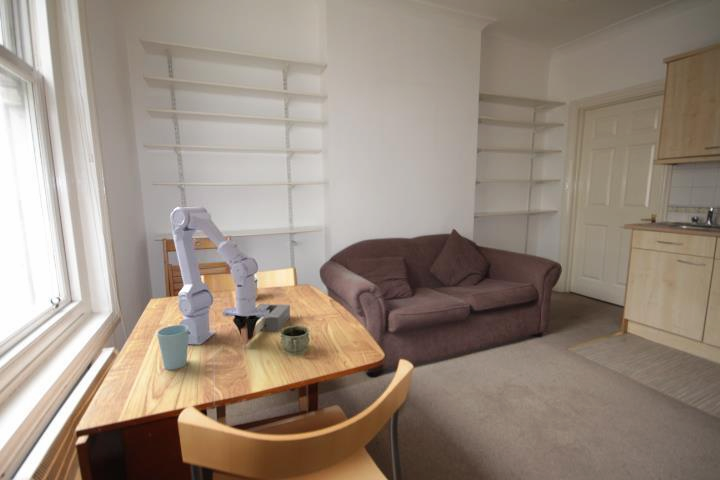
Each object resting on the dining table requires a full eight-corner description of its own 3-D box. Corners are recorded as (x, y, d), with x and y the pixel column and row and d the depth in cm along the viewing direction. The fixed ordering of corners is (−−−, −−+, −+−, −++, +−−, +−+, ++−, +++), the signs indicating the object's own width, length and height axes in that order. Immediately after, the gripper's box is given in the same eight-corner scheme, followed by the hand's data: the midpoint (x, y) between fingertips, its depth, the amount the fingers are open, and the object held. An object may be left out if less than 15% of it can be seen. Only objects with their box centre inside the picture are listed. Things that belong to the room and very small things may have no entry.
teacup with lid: (237, 296, 158) (236, 272, 156) (257, 294, 161) (256, 271, 159) (237, 304, 146) (236, 278, 145) (259, 302, 149) (258, 277, 148)
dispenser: (277, 331, 117) (277, 316, 116) (245, 330, 118) (244, 314, 118) (289, 317, 131) (289, 302, 131) (260, 315, 132) (260, 301, 132)
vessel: (281, 342, 109) (281, 324, 108) (308, 340, 111) (308, 322, 110) (280, 360, 97) (279, 339, 96) (310, 357, 99) (310, 337, 98)
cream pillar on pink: (246, 345, 104) (245, 329, 103) (241, 345, 104) (240, 329, 103) (269, 321, 123) (269, 307, 123) (265, 321, 123) (264, 307, 123)
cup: (171, 357, 98) (168, 324, 96) (196, 358, 97) (194, 325, 96) (153, 371, 90) (150, 335, 89) (180, 372, 90) (178, 336, 88)
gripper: (272, 293, 107) (273, 333, 109) (229, 292, 109) (231, 331, 110) (264, 300, 100) (265, 343, 102) (218, 299, 102) (220, 340, 103)
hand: (247, 337), depth 106 cm, fingers closed on cream pillar on pink, 2 cm apart
